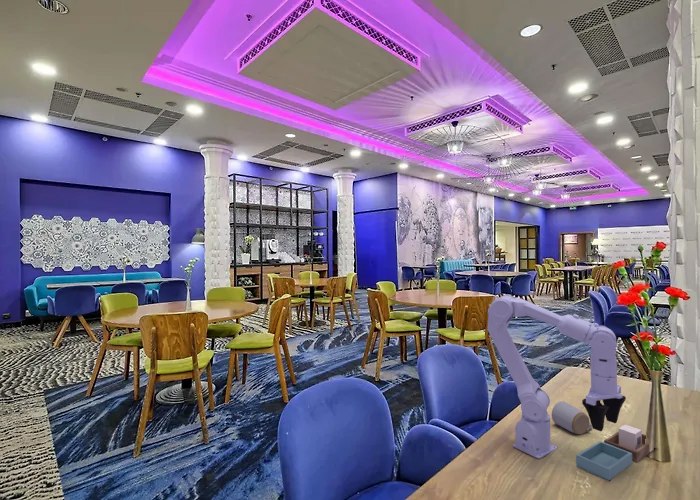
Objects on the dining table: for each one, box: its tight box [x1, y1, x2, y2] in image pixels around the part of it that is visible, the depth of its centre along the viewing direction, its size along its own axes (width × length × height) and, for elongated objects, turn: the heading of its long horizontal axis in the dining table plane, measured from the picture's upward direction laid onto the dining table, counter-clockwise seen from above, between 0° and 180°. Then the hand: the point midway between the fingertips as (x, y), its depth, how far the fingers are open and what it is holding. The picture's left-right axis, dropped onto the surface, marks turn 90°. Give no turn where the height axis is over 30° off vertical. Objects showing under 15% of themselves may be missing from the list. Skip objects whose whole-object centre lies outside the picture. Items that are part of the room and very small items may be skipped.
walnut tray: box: [603, 431, 650, 463], centre depth 104 cm, size 13×8×3 cm, turn 122°
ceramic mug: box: [551, 400, 592, 435], centre depth 117 cm, size 11×8×8 cm
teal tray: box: [575, 440, 633, 482], centre depth 97 cm, size 13×8×3 cm, turn 122°
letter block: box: [618, 424, 643, 451], centre depth 104 cm, size 4×4×6 cm
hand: (604, 425), depth 97 cm, fingers open, 7 cm apart
